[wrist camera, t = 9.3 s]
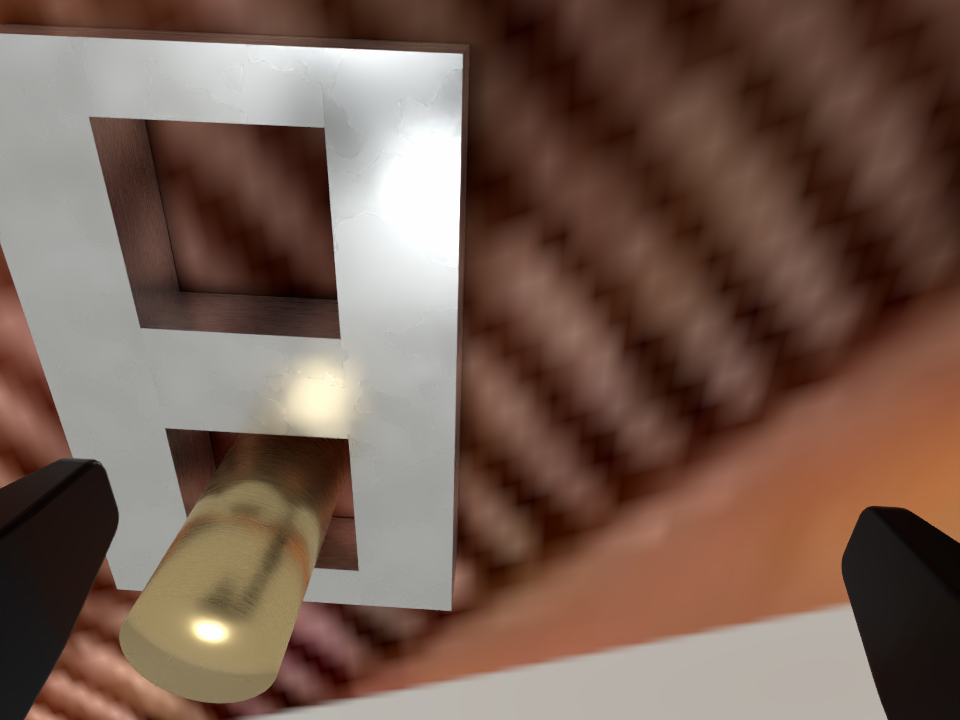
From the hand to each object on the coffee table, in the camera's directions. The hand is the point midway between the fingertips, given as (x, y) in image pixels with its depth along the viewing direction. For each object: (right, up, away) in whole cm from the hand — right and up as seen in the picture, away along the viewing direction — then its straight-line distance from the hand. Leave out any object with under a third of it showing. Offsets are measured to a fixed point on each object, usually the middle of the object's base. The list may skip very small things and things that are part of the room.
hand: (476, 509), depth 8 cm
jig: (-6, +2, +13) cm, 15 cm away
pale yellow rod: (-7, -2, +16) cm, 17 cm away
